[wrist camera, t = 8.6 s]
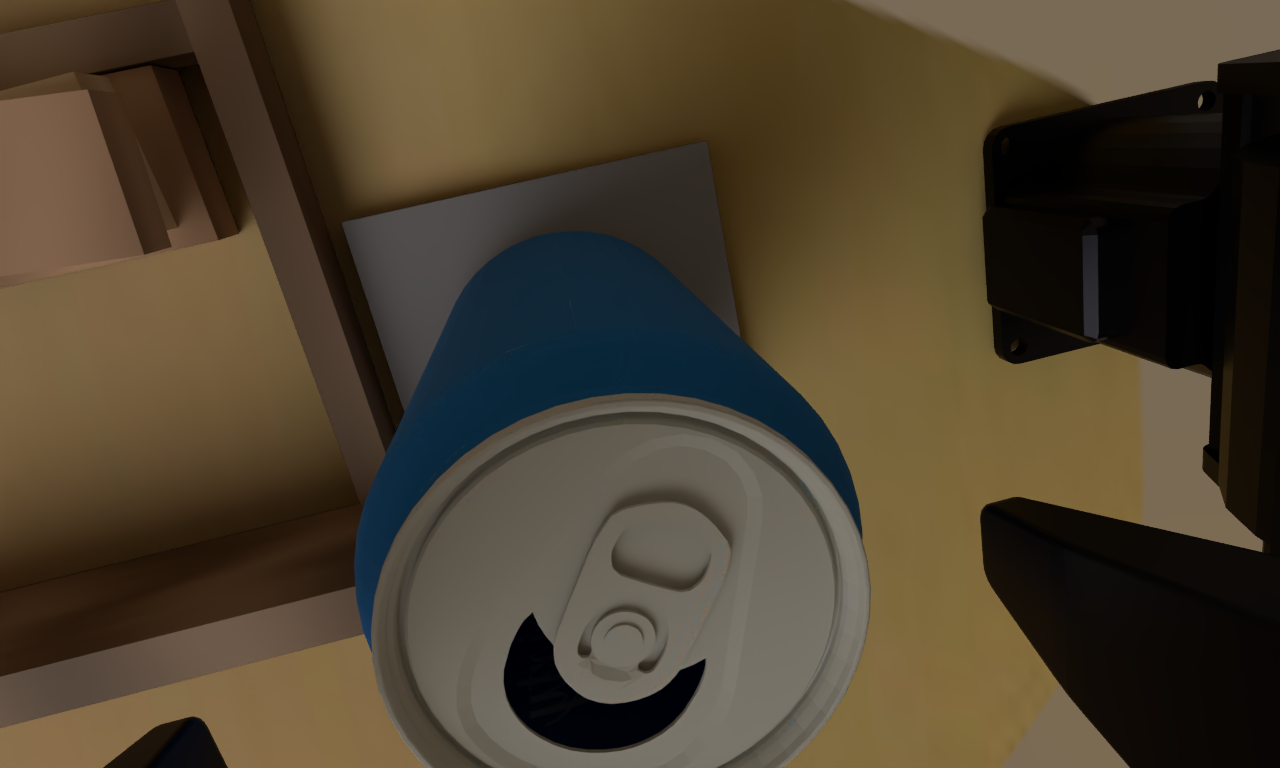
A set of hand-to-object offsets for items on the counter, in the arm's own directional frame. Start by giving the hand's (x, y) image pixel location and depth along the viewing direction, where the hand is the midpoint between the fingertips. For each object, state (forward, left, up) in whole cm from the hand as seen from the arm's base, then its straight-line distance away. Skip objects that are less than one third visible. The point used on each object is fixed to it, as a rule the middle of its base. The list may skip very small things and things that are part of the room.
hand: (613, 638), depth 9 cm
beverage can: (0, 0, -12) cm, 12 cm away
